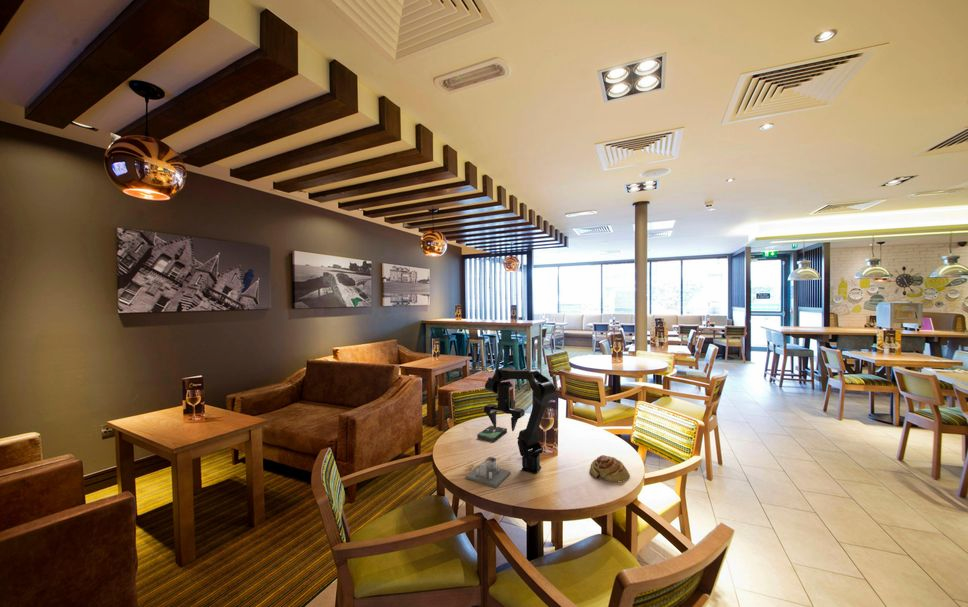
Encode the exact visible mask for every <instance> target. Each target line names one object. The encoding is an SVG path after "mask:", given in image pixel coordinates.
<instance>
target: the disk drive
mask: <svg viewBox="0 0 968 607" xmlns="http://www.w3.org/2000/svg"><path fill="white" fill-rule="evenodd" d="M507 433H508V428H505V427H500V426H496V428H494V426H493V425H489V426H487V427H486V428H485V429H483V430H482V431H481V432H479V433H477V434H476V435H477V436H476V437H477V439H478V438H479V439H478V440H482V439H483V441H488V442H491V441H492V443H495V442H496V441H498V440H499V439H501V438H502V437H503V436H504V435H505V434H507Z"/></svg>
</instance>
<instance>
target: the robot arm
mask: <svg viewBox="0 0 968 607" xmlns="http://www.w3.org/2000/svg"><path fill="white" fill-rule="evenodd" d="M510 380H527V381H528V382H529V383H528V384H529V388H530V389H531V390H532V392H533V398H534V402H533V406H532V409H531V412H530V415H529V418H528V420H527V424H526V428H525V429H524V428H523V429H521V430H520V431H519V432H518V437H517V438H516V440H517V447H518V450H519V454H520V456H521V465H522V468H521V471H524V472H528V473H531V474H537V473H538V472H540V470H541V469H542V465H540V464H541V461H540V460H541V458H540V455H542V454H543V451H544V448H543V447H542V445H541V443H540V442H539V440H540V439H539V438H540V436H539V434H538V432H539V428H540V425H541V423H542V419H543V416H544V414H545V411H546V407H547V404H548V403H549V402H550V401H551V400H552V399H553V398H554V395H555V394H556V390H557V389H556V386H555V384H554V383H553V382H552V381H551V380H550V379H549V378H548V377H546V376H545V375H543V374H541V373H540V371H539V370H537V369H513V368H511V367H503V368H496V369H495V373H493V376H492V377H491V376H489V377H487V380H486V382H485V384H484V389H485V390H486V391H487V392H489V393H493V394H497V397H496V398H495V401H496V402H497V404H494V403H488V404H486V405H484V406H483V413H485V414H486V415H487V417H488V418H489V420H490V421H491V424H492V426H494V428H496V427H497V412H498V413H504V414H509V415H511V418H510V424H511V431H512V432H514V431H515V428H516V426H517V423H518V420H519V419H521V418H523V417H524V416H525V415H526V414H525V412H526V411H525V410H524V408H519V407H516V402H517V401H516V400H513V399H512V396H510V395H511V394H510V393H511V392H510V391H511V389H510V388H513V386H514V385H513V384H512V383H511V382H510ZM537 382H539V383H537ZM513 408H514V409H513Z"/></svg>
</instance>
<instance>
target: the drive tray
mask: <svg viewBox="0 0 968 607" xmlns="http://www.w3.org/2000/svg"><path fill="white" fill-rule="evenodd" d="M510 475H511V471H510V470H506V469H503V468H501V467H500V465H499V464H498V465H497V464H496V471H495V472H494V473H493V474H492V472H489V477H488V478H487V479H485V478H481V477H480V464H479V465H477V466H476V467H475V468H474V469H472V470H471V471H470V472H469V473H468V474H466V475H465V479H466V480H470V481H472V482H477V483H480V484H482V485H487V486H489V487H492V488H493V487H494V488H497V487H499V486H500V484H502V483H503V481H505V480H506V479H507V478H508V477H509V476H510Z"/></svg>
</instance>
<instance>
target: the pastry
mask: <svg viewBox="0 0 968 607" xmlns="http://www.w3.org/2000/svg"><path fill="white" fill-rule="evenodd" d="M588 473H589V475H590V476H593V477H592V478H594V479H595V478H596V479H600V478H601V480H603V479H604V480H603V481H606V480H607V481H606V482H610V481H611V482H610V483H619V482H618V481H622V482H624V481H623V480H625V481H627V480H629V479H630V478H631V475H630V473H629V471H628V470H627V468H626V466H625V465H624V463H623V462H622V461H621V460H618V459H617V458H616V457H615V456H609V455H606V454H605V455H604V454H603V455H600V456H598V457H597V458H596V459H594V460H593V461H592V462H591V463H590V468H589V471H588ZM629 477H630V478H629ZM628 478H629V479H628ZM626 479H627V480H626ZM612 481H613V482H612Z"/></svg>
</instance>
